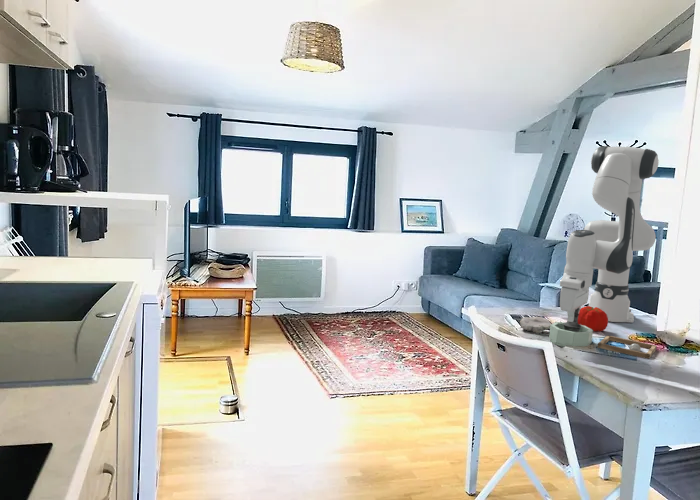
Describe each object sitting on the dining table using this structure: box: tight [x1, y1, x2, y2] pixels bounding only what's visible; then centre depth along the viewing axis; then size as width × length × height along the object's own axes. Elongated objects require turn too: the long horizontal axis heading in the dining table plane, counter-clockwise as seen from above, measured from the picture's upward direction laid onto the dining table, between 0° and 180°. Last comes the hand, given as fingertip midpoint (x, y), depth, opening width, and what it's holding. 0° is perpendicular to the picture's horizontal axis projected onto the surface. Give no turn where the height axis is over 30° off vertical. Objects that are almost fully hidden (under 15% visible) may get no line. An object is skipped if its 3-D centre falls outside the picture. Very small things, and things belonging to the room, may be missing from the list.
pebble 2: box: [630, 347, 641, 352], centre depth 178 cm, size 3×3×3 cm
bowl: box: [548, 321, 594, 348], centre depth 188 cm, size 12×12×6 cm
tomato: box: [578, 305, 609, 332], centre depth 204 cm, size 11×11×9 cm
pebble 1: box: [629, 344, 642, 351], centre depth 181 cm, size 3×3×3 cm
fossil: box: [519, 316, 552, 334], centre depth 201 cm, size 9×6×10 cm
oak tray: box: [597, 334, 657, 360], centre depth 182 cm, size 13×15×2 cm
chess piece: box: [563, 308, 582, 332], centre depth 187 cm, size 6×6×12 cm
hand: (572, 320), depth 187 cm, fingers closed on chess piece, 3 cm apart
